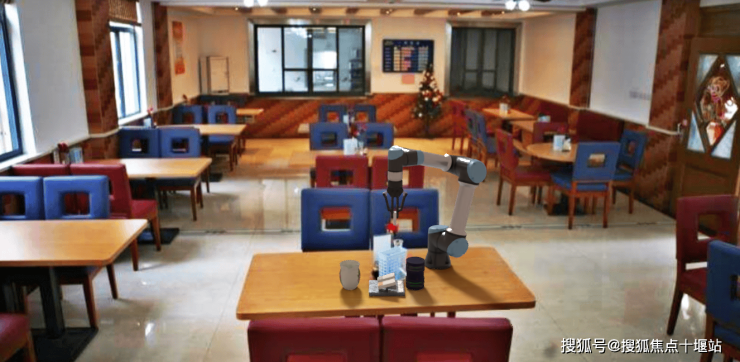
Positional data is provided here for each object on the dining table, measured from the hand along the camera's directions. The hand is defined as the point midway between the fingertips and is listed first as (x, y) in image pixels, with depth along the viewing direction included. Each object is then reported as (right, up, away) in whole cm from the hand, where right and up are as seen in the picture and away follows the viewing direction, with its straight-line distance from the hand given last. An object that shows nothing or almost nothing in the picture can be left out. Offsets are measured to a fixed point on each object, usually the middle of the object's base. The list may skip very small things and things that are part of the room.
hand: (394, 224), depth 291 cm
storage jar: (+11, -34, +8) cm, 36 cm away
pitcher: (-23, -33, +9) cm, 42 cm away
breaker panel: (-4, -34, +5) cm, 35 cm away
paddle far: (-4, -28, +7) cm, 30 cm away
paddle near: (-4, -30, 0) cm, 31 cm away
